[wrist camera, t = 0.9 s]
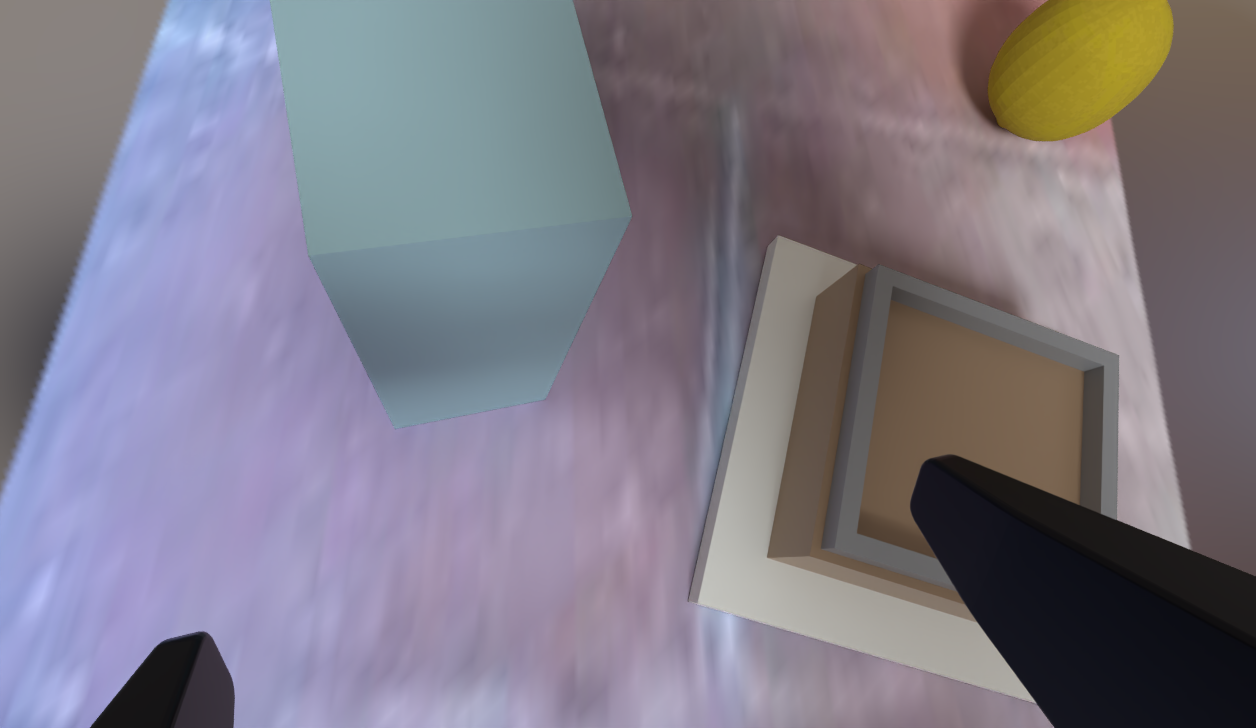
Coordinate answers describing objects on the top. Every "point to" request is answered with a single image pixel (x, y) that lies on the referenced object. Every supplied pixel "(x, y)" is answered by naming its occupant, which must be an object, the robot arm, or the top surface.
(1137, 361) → the top surface
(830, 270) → the build base
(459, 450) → the top surface
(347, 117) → the pillar
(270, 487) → the top surface
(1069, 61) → the lemon
